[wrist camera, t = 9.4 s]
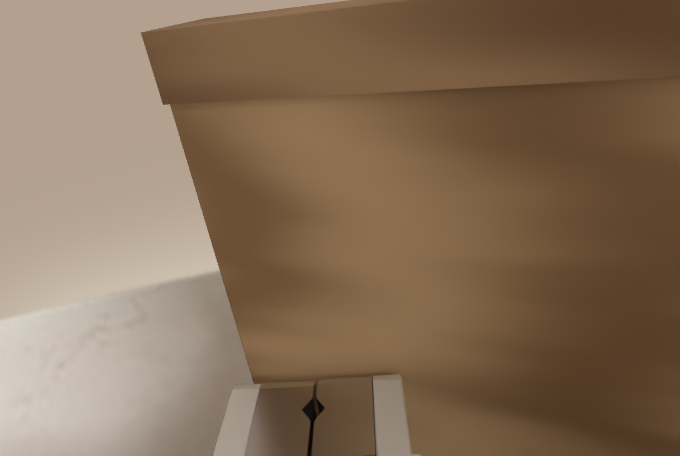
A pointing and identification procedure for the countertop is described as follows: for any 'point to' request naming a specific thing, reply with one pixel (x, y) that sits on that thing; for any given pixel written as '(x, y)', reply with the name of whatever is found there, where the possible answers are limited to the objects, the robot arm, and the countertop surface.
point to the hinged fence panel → (450, 208)
